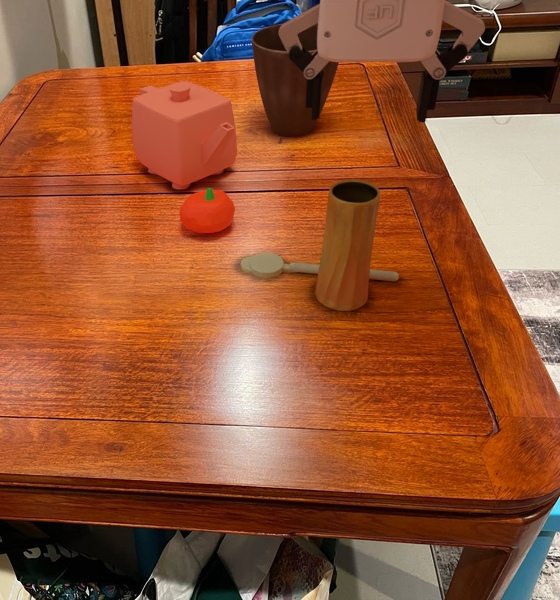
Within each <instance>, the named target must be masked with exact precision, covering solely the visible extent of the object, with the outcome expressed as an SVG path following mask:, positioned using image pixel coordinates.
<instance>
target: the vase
mask: <svg viewBox="0 0 560 600" xmlns="http://www.w3.org/2000/svg"><path fill="white" fill-rule="evenodd" d="M380 201H381V191H380V188H379V187H377V186H376V185H375V184H374V183H372V182H369V181H366V180H362V179H344V180H340V181H337V182H335V183H333V184H332V185H331V186H330V187H329V190H328V195H327V203H326V204H327V205H326V213H325V224H324V232H323V237H322V238H323V239H322V246H321V253H320V261H319V272H318V274H317V280H316V286H315V289H314V295H315V298H316V300H317V301H318V302H319V303H320V304H321V305H322V306H324V307H325V308H328V309H331V310H334V311H338V312H350V311H351V312H352V311H355V310H358V309H360V308H361V307H363V306H364V305H365V304H366V303H367V302H368V298H369V284H370V283H369V281H370V279H369V274H370V269H371V264H372V263H371V262H372V255H373V248H374V241H375V234H376V233H375V232H376V228H377V227H376V225H377V219H378V211H379V207H380Z"/></svg>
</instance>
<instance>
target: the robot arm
mask: <svg viewBox="0 0 560 600" xmlns="http://www.w3.org/2000/svg"><path fill="white" fill-rule="evenodd" d="M443 22H444V23H446V24H448V25H450V26H452V27H453V28H455V29H457V30H459V31H461V32H460V34H459V36H458V38H457V39H456V41H455V42H453V43H451V44H450V45H449V46H448V47H447V48H445V49H444V50H443V51H441V53H440V51H439V50H438V49H437V48H438V46H439V41H440V37H441V31H442V25H443ZM317 23H318V32H317V50H316V51H315V52H314V53H313V54H312V55H311V54H310V53H309V52H308V50H307V49H306V48H305V47H304V46H303V45H302V44H301V43H300V41H299V38H298V34H299V33H300V32H302V31H304V30H306V29H308V28H310V27H312V26H313V25H315V24H317ZM281 24H282V25H281V27H280V29H279V32H278V34H279V36H280V39H281V41H282V43H283V45H284V47H285V49H286V50H287V52H288V54H289V55H288V56H289V58H290V60H291V61H292V62H293V63H294V64H295V65H296V66H297V67H298V68H299V69H300V70H301V71H302V72H303V73H304V77H305V78H307V87H306V108H312V120H317V119H318V120H320V116H321V114H322V111H321V107H322V93H323V78H324V71H322V69H323V68H324V67H325V65H326V64H327V63H328V62H329V61H332V62H339V63H414V62H420V63H421V64H422V65H423V67H424V70H422V73H421V78H420V84H419V91H418V95H417V101H416V109H415V111H416V112H415V113H416V121H417V122H418V123H426V120H427V115H428V111H435V110H436V105H437V100H438V93H439V89H440V82H441V79H443V78H444V77H445V76H446V74H447V72H449V71H450V70H452V69H453V68H454V67H455V66H457V65H458V64H460V63H461V62H462V61H463V60H465V58H466V57H467V56H468V53H469V52H470V51H471V49H473V47H474V46H475V44H476V43H477V42H478V41H479V39H480V38H481V37H482V35H483V34H484V33H485V31H486V25H485V22H484V20H483V19H481V18H479V17H477V16H475V15H474V14H472V13H470V12H468V11H466V10H464V9H463V8H461V7H459V6H457V5H455V4H453V3H451V2H450V1H447V0H319V3H318V4H316V5H314V6H312V7H311V8H309V9H307V10H305V11H304V12H301V13H300V14H298V15H296V16H295V17H293V18H290V19H289V20H287V21H285V22H284V23H281ZM320 113H321V114H320ZM318 120H317V121H318Z"/></svg>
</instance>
